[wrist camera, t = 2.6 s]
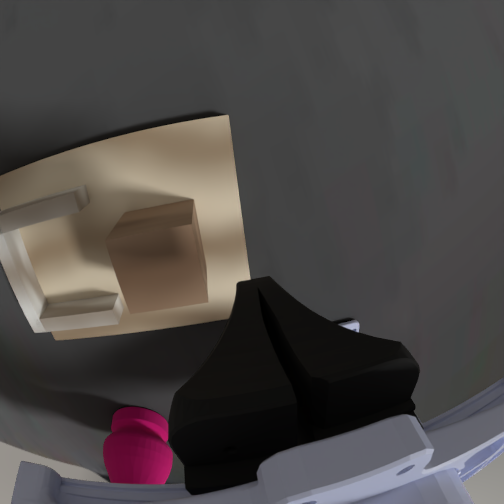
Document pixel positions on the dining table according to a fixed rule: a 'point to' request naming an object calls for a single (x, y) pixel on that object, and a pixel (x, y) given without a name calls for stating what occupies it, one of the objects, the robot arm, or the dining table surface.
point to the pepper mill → (137, 447)
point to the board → (106, 217)
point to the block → (159, 257)
